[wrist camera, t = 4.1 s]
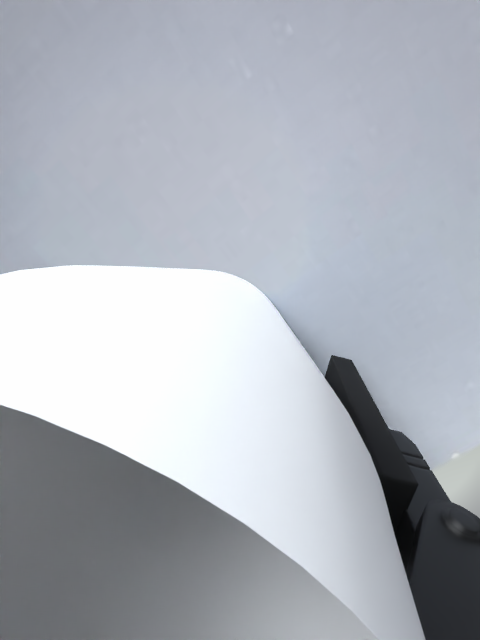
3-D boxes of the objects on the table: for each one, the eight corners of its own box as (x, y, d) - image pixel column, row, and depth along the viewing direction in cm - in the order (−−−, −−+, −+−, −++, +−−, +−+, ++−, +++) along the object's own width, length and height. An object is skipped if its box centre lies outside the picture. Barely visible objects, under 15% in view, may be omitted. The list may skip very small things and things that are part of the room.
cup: (91, 414, 16) (-380, 902, 5) (119, 212, 13) (-797, 152, 2) (284, 467, 16) (305, 1133, 4) (349, 271, 13) (841, 600, 2)
